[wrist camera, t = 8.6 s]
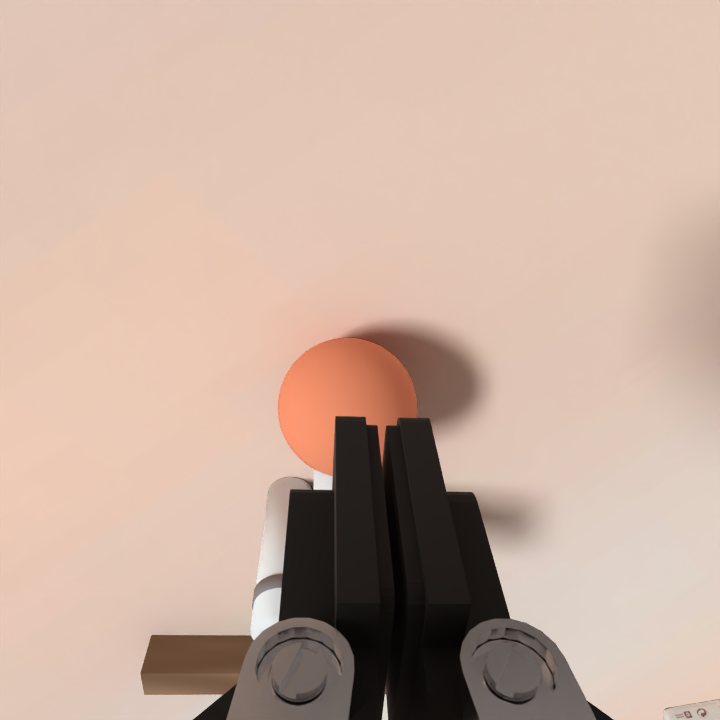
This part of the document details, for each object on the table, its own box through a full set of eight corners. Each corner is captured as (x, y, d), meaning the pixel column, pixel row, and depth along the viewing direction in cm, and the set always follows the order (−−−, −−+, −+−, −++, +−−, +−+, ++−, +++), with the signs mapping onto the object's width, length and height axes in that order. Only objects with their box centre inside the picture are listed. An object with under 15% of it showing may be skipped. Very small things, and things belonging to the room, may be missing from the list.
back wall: (151, 635, 39) (140, 673, 37) (505, 637, 40) (514, 673, 38) (154, 656, 40) (144, 694, 38) (500, 657, 41) (509, 693, 39)
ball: (277, 508, 27) (281, 409, 32) (417, 505, 27) (401, 408, 32) (273, 404, 23) (278, 309, 28) (436, 404, 24) (415, 311, 28)
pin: (266, 476, 33) (248, 611, 26) (314, 476, 33) (309, 612, 26) (267, 511, 34) (249, 651, 27) (314, 512, 35) (308, 651, 27)
